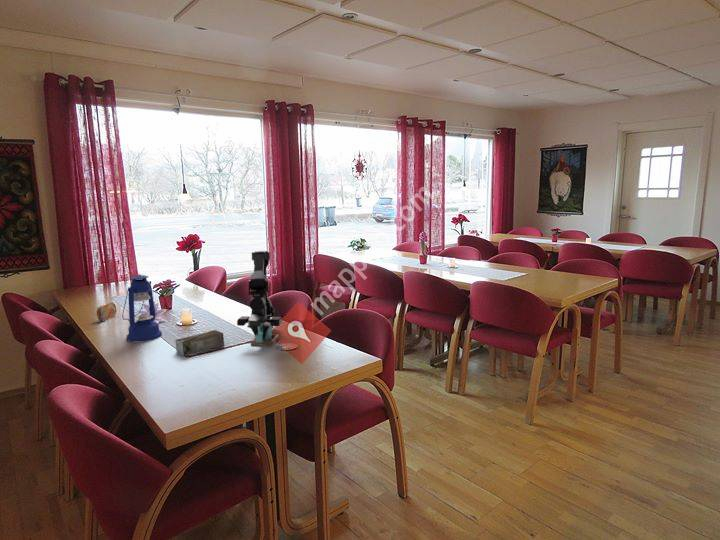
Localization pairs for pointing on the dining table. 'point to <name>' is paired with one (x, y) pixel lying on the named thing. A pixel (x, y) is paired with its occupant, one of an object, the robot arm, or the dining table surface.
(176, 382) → the dining table surface
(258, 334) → the jug
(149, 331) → the lantern
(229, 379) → the dining table surface
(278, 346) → the coaster
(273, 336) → the holder
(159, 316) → the water lily
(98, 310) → the tin
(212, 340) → the grey brown rectangular block
